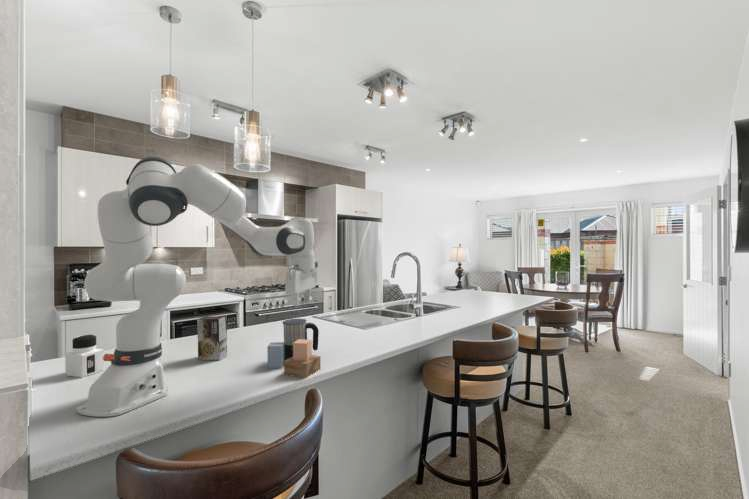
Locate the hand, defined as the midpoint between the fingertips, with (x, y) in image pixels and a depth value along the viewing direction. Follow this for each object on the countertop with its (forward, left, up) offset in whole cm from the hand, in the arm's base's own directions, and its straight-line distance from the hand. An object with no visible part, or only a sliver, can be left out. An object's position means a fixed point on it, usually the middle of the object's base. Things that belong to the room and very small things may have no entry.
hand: (301, 303), depth 129 cm
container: (-16, +74, -24) cm, 79 cm away
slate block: (+4, +12, -24) cm, 27 cm away
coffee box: (+8, +41, -24) cm, 48 cm away
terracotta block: (0, 0, -19) cm, 19 cm away
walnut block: (0, 0, -24) cm, 24 cm away
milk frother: (+17, +9, -24) cm, 31 cm away
